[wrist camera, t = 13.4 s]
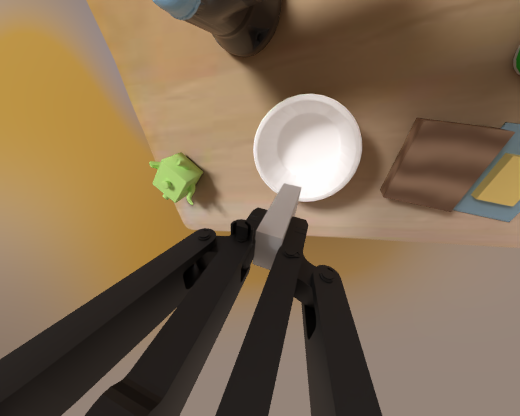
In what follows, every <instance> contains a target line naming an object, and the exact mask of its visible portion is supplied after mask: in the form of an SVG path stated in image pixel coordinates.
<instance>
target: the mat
mask: <svg viewBox="0 0 520 416" xmlns="http://www.w3.org/2000/svg"><path fill="white" fill-rule="evenodd" d="M501 129H505V130H509V131H514V132H515V134H514V135H513V136H512V137H511V138H510V140H509V141H508V142H507V143H506V145H505V146H504V147H503V148H502V150H501V151H500V152H499V153H498V155H497V156H496V157H495V158H494V159H493V161H492V162H491V163H490V164H489V166H488V167H487V168H486V169H485V171H484V172H483V173H482V174H481V175H480V177H479V178H478V179H477V180H476V182H475V183H474V184H473V185H472V187H471V188H470V189H469V190H468V191H467V193H466V194H465V195H464V196H463V198H462V199H461V200H460V201H459V203H458V204H457V205H456V206H455V207H454V209H453V210H456V211H460V212H465V213H469V214H474V215H479V216H483V217H488V218H492V219H497V220H502V221H506V222H510V221H511V220H512V219H513V218H514V217H515V216H516V215H517V214H518V213H519V212H520V200H519V201H518V202H517V203H516V204H515V205H514V206H508V205H503V204H498V203H493V202H488V201H483V200H478V199H475V198H474V197H473V196H471V194H472V192H473V191H474V190H475V189H476V188H477V186H478V185H479V184H480V183H481V182H482V180H483V179H484V178H485V177H486V176H487V174H488V173H489V172H490V171H491V170H492V168H493V167H494V166H495V165H496V164H497V162H498V161H499V160H500V159H501V158H502V156H503V155H504V154H505V153H509V154H515V155H520V124H515V123H507V122H505V123H504V125H503V126H502V127H501Z"/></svg>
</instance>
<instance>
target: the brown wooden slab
mask: <svg viewBox="0 0 520 416" xmlns="http://www.w3.org/2000/svg"><path fill="white" fill-rule="evenodd" d="M514 134H515V132H514V131H509V130H505V129H500V128H494V127H486V126H478V125H470V124H462V123H454V122H446V121H438V120H430V119H422V118H417V119H416V120H415V122H414V124H413V126H412V128H411V130H410V132H409V134H408V136H407V138H406V140H405V142H404V144H403V146H402V148H401V150H400V152H399V154H398V156H397V158H396V160H395V162H394V164H393V166H392V168H391V170H390V172H389V174H388V175H387V177H386V179H385V181H384V183H383V185H382V187H381V189H380V190H381V192H382V195H383V197H385V198H390V199H394V200H399V201H403V202H408V203H413V204H417V205H422V206H426V207H431V208H435V209H440V210H444V211H449V212H451V211H452V210H453V209H454V207H455V206H456V205H457V204H458V203H459V201H460V200H461V199H462V198H463V196H464V195H465V194H466V193H467V191H468V190H469V189H470V188H471V187H472V185H473V184H474V183H475V182H476V180H477V179H478V178H479V177H480V175H481V174H482V173H483V172H484V171H485V169H486V168H487V167H488V166H489V164H490V163H491V162H492V161H493V159H494V158H495V157H496V156H497V155H498V153H499V152H500V151H501V150H502V148H503V147H504V146H505V145H506V143H507V142H508V141H509V140H510V138H511V137H512V136H513V135H514Z"/></svg>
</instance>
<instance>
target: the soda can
mask: <svg viewBox="0 0 520 416" xmlns="http://www.w3.org/2000/svg"><path fill="white" fill-rule="evenodd" d="M513 68H514V69H515V71H516V73H517V74H519V75H520V45H519V47H518V48H517V50H516V53H515V56H514V58H513Z"/></svg>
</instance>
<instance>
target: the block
mask: <svg viewBox="0 0 520 416" xmlns="http://www.w3.org/2000/svg"><path fill="white" fill-rule="evenodd" d="M471 196H473V197H474V198H475V199H478V200H483V201H488V202H493V203H498V204H503V205H508V206H514V205H515V204H516V203H517V202H518V201H519V200H520V155H515V154H509V153H505V154H504V155H503V156H502V158H501V159H500V160H499V161H498V162H497V164H496V165H495V166H494V167H493V168H492V170H491V171H490V172H489V173H488V174H487V176H486V177H485V178H484V179H483V180H482V182H481V183H480V184H479V185H478V186H477V188H476V189H475V190H474V191H473V192H472V194H471Z"/></svg>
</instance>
